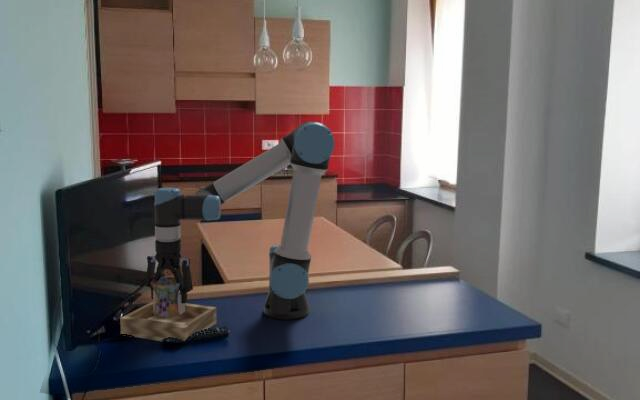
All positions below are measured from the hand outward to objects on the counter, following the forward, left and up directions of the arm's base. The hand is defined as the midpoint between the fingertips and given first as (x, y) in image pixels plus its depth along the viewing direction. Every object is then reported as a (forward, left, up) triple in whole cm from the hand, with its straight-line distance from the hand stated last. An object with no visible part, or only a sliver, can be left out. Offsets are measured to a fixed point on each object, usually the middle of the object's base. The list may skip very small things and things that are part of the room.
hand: (169, 311), depth 186 cm
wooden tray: (0, 0, -6) cm, 6 cm away
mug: (+1, 0, -1) cm, 1 cm away
